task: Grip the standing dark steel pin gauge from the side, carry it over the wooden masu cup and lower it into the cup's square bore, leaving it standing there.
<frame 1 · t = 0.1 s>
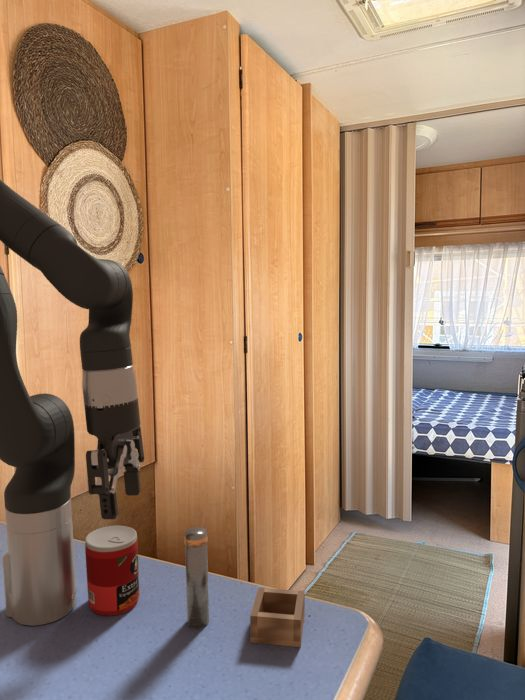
hand: (122, 505, 79), 17 cm above the table, tool pointing down, fingers open, 8 cm apart
wooden masu cup: (278, 628, 77), on the table
canned food: (114, 603, 84), on the table
pin gauge: (198, 621, 79), on the table
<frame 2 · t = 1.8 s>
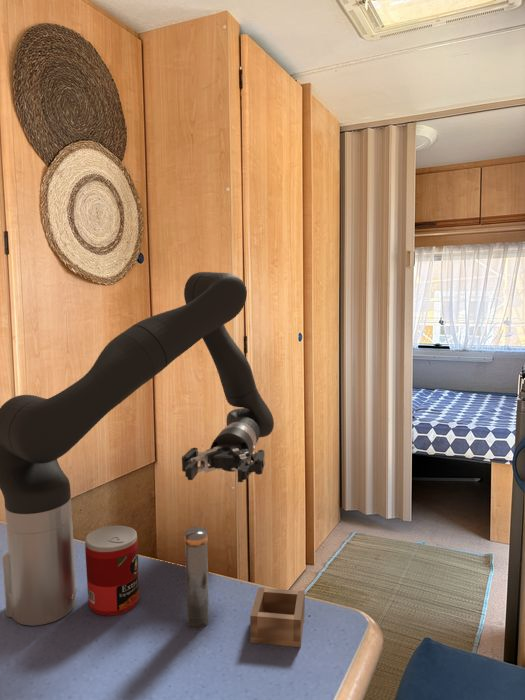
hand: (214, 475, 88), 18 cm above the table, tool horizontal, fingers open, 8 cm apart
nothing on the table moved.
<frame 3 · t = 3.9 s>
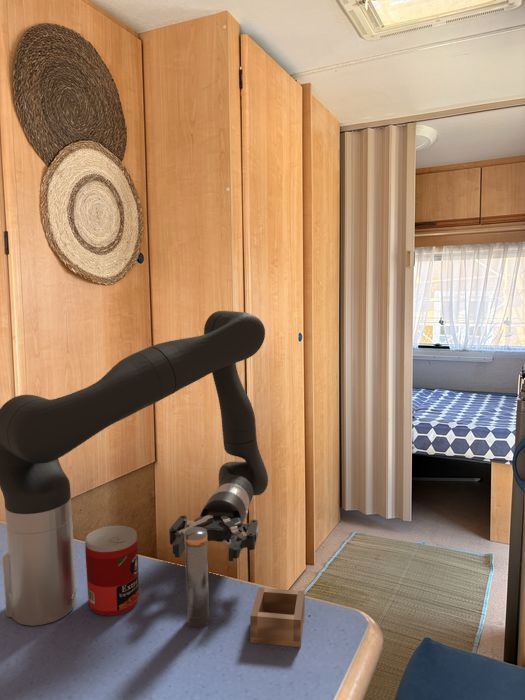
hand: (203, 553, 82), 9 cm above the table, tool horizontal, fingers open, 8 cm apart
nothing on the table moved.
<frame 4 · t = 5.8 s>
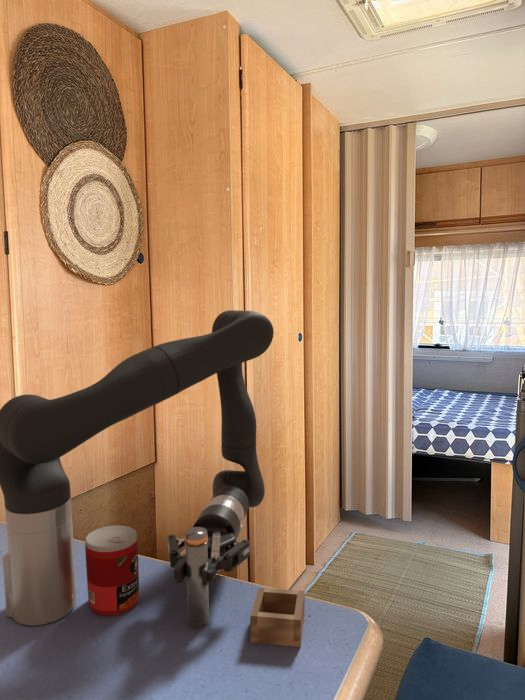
hand: (191, 578, 75), 8 cm above the table, tool horizontal, fingers closed on pin gauge, 3 cm apart
pin gauge: (198, 621, 79), on the table, touching gripper
everything else where it was.
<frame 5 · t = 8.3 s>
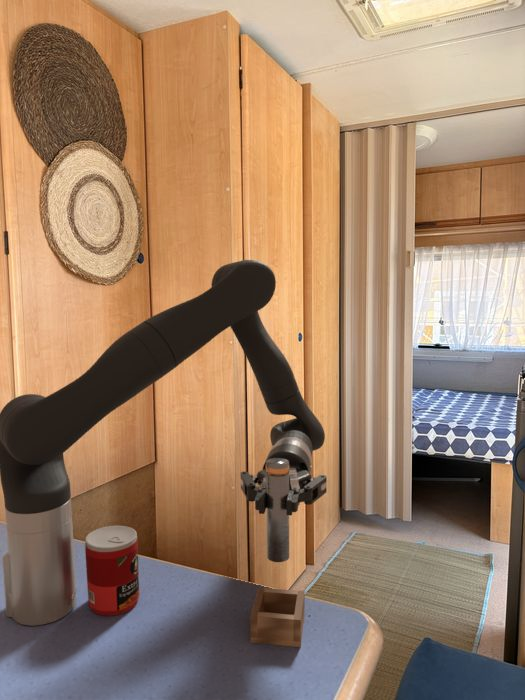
hand: (275, 507, 72), 20 cm above the table, tool horizontal, fingers closed on pin gauge, 3 cm apart
pin gauge: (278, 556, 76), point 11 cm above the table, touching gripper
everything else where it was.
when the fingers open (10 cm above the table, at t = 10.7 s): pin gauge stays where it is, resting on wooden masu cup.
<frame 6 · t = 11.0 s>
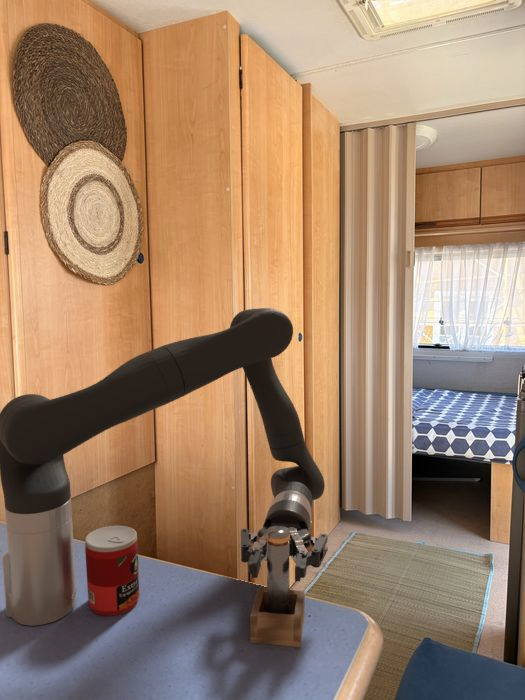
hand: (275, 573, 73), 10 cm above the table, tool horizontal, fingers open, 5 cm apart
pin gauge: (278, 623, 77), point 1 cm above the table, touching wooden masu cup
everything else where it was.
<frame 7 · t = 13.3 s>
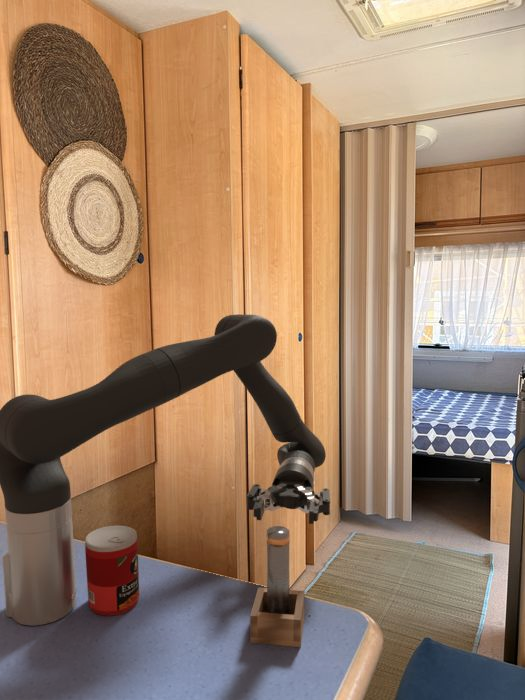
hand: (284, 516, 86), 12 cm above the table, tool horizontal, fingers open, 8 cm apart
nothing on the table moved.
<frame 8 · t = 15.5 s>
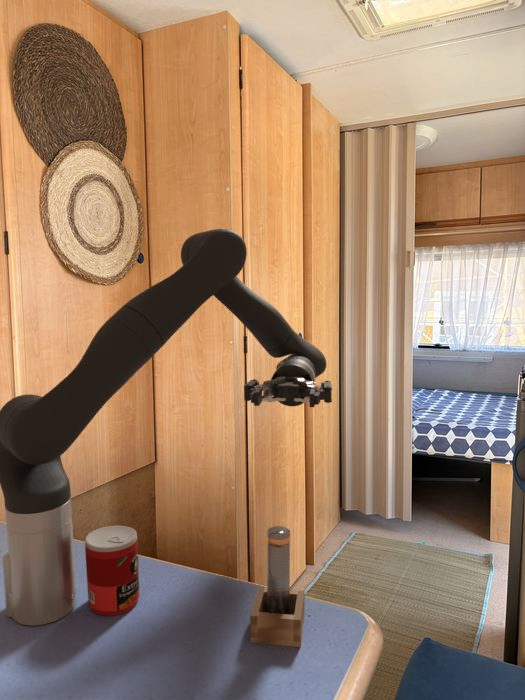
hand: (283, 400, 81), 32 cm above the table, tool horizontal, fingers open, 8 cm apart
nothing on the table moved.
at the end: pin gauge 0.1 cm off-centre on the wooden masu cup, point 0.8 cm above the wooden masu cup's base; pin gauge tilted 1°; the gripper is holding nothing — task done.
